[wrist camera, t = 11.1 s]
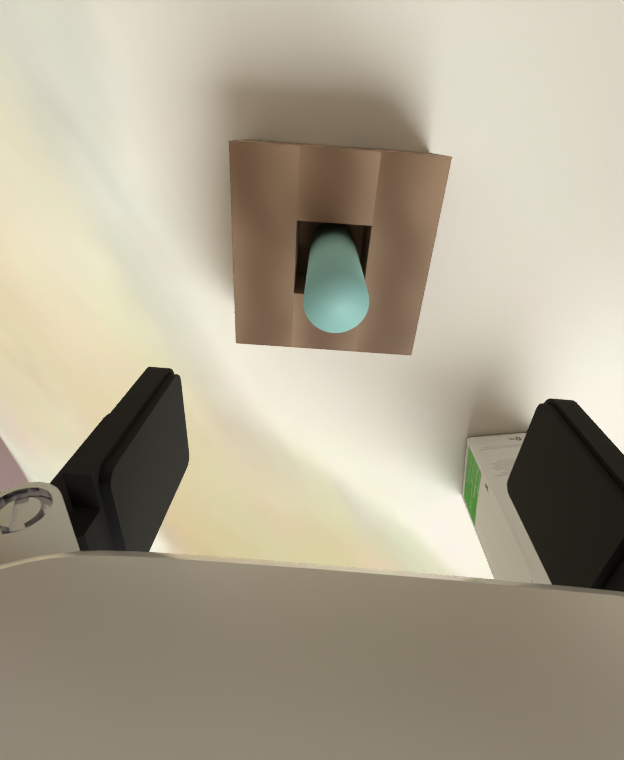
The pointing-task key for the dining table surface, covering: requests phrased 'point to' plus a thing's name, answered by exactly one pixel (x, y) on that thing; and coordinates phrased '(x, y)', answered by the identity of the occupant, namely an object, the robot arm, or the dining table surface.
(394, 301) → the socket block
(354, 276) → the peg
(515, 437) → the skincare box
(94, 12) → the dining table surface
